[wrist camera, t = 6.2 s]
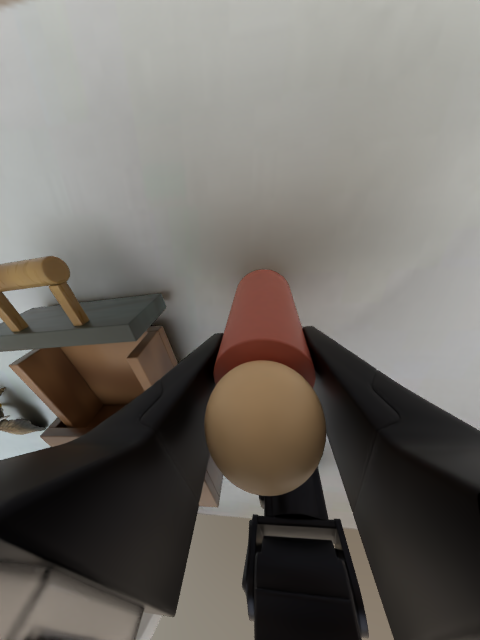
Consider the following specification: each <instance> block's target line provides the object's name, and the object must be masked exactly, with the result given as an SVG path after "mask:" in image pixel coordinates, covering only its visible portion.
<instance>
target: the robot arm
mask: <svg viewBox="0 0 480 640" xmlns="http://www.w3.org/2000/svg"><path fill="white" fill-rule="evenodd" d="M303 332H304V336H305V339H306V342H307V345H308V349H309V352H310V355H311V358H312V362H313V365H314V368H315V373H316V379H315V384H314V387H313V390H314V391H315V393H316V395H317V396H318V398H319V401H320V403H321V406H322V408H323V412H324V416H325V421H326V433H327V436H328V439H329V442H330V445H331V448H332V451H333V454H334V457H335V460H336V464H337V467H338V470H339V473H340V476H341V479H342V482H343V485H344V488H345V491H346V494H347V497H348V500H349V503H350V506H351V509H352V512H353V516H354V519H355V522H356V525H357V528H358V531H359V534H360V537H361V540H362V543H363V546H364V549H365V552H366V555H367V558H368V561H369V564H370V567H371V570H372V573H373V576H374V579H375V583H376V586H377V589H378V592H379V595H380V598H381V600H382V604H383V607H384V610H385V613H386V616H387V619H388V622H389V625H390V628H391V631H392V634H393V637H394V640H480V431H479V430H477V429H476V428H474V427H472V426H470V425H469V424H467V423H465V422H463V421H462V420H460V419H458V418H456V417H455V416H453V415H451V414H449V413H448V412H446V411H444V410H442V409H441V408H439V407H437V406H435V405H434V404H432V403H430V402H428V401H427V400H425V399H423V398H422V397H420V396H418V395H416V394H415V393H413V392H411V391H410V390H408V389H406V388H405V387H403V386H401V385H400V384H398V383H397V382H395V381H394V380H392V379H391V378H389V377H388V376H386V375H385V374H383V373H382V372H380V371H379V370H376V368H374V367H373V366H371V365H370V364H368V363H367V362H365V361H364V360H362V359H361V358H359V357H358V356H356V355H355V354H353V353H352V352H350V351H349V350H347V349H346V348H344V347H343V346H341V345H340V344H339V343H337V342H336V341H334V340H333V339H331V338H330V337H328V336H327V335H325V334H324V333H322V332H321V331H319V330H318V329H316V328H315V327H313V326H307V327H303ZM223 335H224V334H223V333H217V334H214V335H213V336H211V337H210V338H209V339H208V340H206V341H205V342H204V343H203V344H202V345H200V346H199V347H198V348H197V349H196V350H194V351H193V352H192V353H191V354H189V355H188V356H187V357H186V358H185V359H183V360H182V361H181V362H180V363H179V364H177V365H176V366H175V367H174V368H172V369H171V370H170V371H169V372H168V373H166V374H165V375H164V376H163V377H162V378H161V380H160V379H159V380H158V381H157V382H155V383H154V384H153V385H152V386H151V387H149V388H148V389H147V390H145V391H144V392H143V393H142V394H140V395H139V396H138V397H136V398H135V399H134V400H132V401H131V402H130V403H128V404H127V405H125V406H124V407H123V408H121V409H120V410H118V411H117V412H116V413H114V414H113V415H111V416H110V417H109V418H107V419H106V420H104V421H103V422H102V423H100V424H99V425H97V426H96V427H95V428H93V429H92V430H90V431H89V432H87V433H86V434H84V435H82V436H81V437H79V438H77V439H74V440H72V441H70V442H67V443H64V444H61V445H58V446H54V447H50V448H46V449H42V450H38V451H35V452H31V453H27V454H23V455H19V456H15V457H11V458H8V459H4V460H0V640H136V637H137V633H138V630H139V626H140V623H141V620H142V616H143V613H150V614H156V615H163V616H169V617H174V616H175V613H176V609H177V604H178V600H179V595H180V591H181V586H182V582H183V577H184V572H185V568H186V563H187V558H188V554H189V549H190V544H191V540H192V535H193V530H194V525H195V521H196V516H197V512H198V507H199V502H200V497H201V493H202V488H203V483H204V479H205V474H206V469H207V465H208V460H209V456H210V452H209V449H208V446H207V442H206V438H205V428H204V420H205V412H206V406H207V403H208V400H209V398H210V395H211V393H212V391H213V389H214V388H215V386H216V384H215V381H214V376H213V371H214V366H215V362H216V359H217V355H218V352H219V348H220V345H221V341H222V338H223ZM259 500H260V504H261V507H262V508H263V509H264V516H258V515H254V514H253V518H252V520H250V521H249V540H248V549H247V555H246V562H245V567H244V574H243V581H242V588H243V590H244V592H245V594H246V596H247V604H248V615H249V620H250V621H254V628H255V629H254V631H255V640H362V639H361V637H363V638H368V637H369V633H368V625H367V620H366V614H365V610H364V605H363V601H362V596H361V592H360V588H359V584H358V581H357V577H356V573H355V570H354V567H353V563H352V559H351V556H350V552H349V549H348V545H347V542H346V538H345V535H344V531H343V528H342V524H341V520H340V519H334V520H329V519H328V515H327V510H326V505H325V500H324V495H323V490H322V485H321V480H320V476H319V471H318V466H317V468H316V469H315V471H314V472H313V474H312V475H311V476H310V477H309V478H308V479H307V480H306V481H305V482H304V483H303V484H302V485H300V486H299V487H297V488H296V489H294V490H292V491H290V492H287V493H285V494H282V495H277V496H262V495H259ZM333 544H335V548H334V545H333Z"/></svg>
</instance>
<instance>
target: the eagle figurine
mask: <svg viewBox="0 0 480 640" xmlns="http://www.w3.org/2000/svg"><path fill="white" fill-rule="evenodd" d="M4 389H5V387H4V388H1V389H0V396H1V394H2V393H3V392H4ZM1 406H2V405H1V404H0V430H2V431H5V432H8V433H12V434H20V435H23V434H27V433H31V432H35V431H42V430H45V429H46V428H43V427H39V426H35V425H33V424H31V422H30V421H28V420H24V419H16V420H9V421H8V420H6V418H8V417H10V415H9V416H5V417H4V414H3V409H2V407H1Z"/></svg>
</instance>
